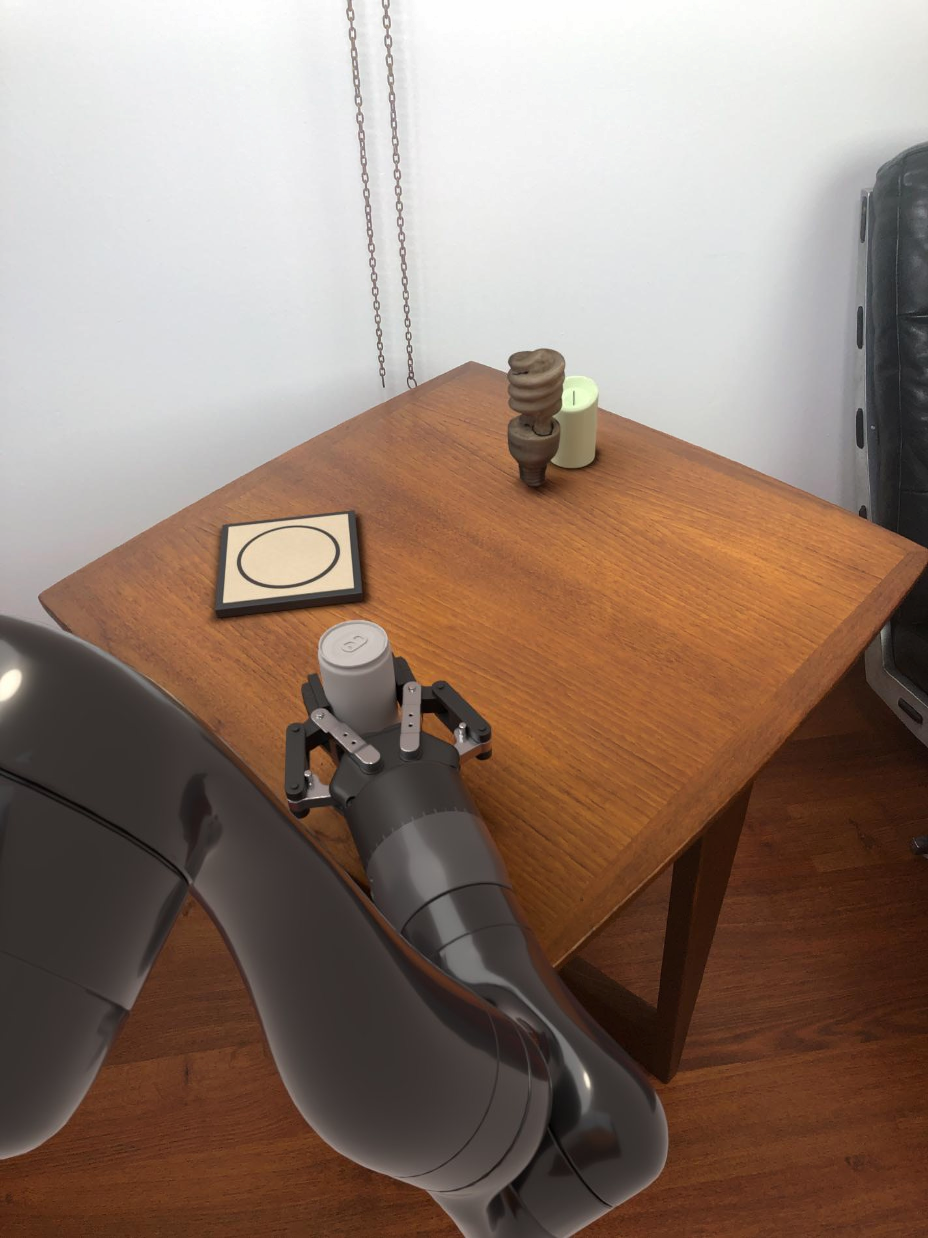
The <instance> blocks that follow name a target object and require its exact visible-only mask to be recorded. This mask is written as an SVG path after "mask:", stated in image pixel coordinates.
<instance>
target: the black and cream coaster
mask: <svg viewBox="0 0 928 1238" xmlns="http://www.w3.org/2000/svg"><path fill="white" fill-rule="evenodd" d="M219 546H220V547H219V557H218V558H219V559H218V569H217V571H218V572H217V579H216V580H217V581H216V592H215V593H216V594H215V604H214V605H215V607H214V611H215V616H216V618H217V619H221V618H227V617H228V618H229V617H236V616H246V615H255V614H256V615H257V614H263V613H273V612H279V611H280V612H281V611H289V610H290V611H291V610H297V609H306V608H314V607H323V606H331V605H340V604H341V605H342V604H349V603H357V602H364V592H363V590H364V589H363V581H362V580H363V579H362V570H361V569H362V568H361V559H360V551H359V539H358V527H357V517H356V511H355V510H354V509H353V510H343V511H335V512H325V513H316V514H307V515H306V514H305V515H299V516H289V517H280V518H270V519H263V520H254V521H253V520H252V521H244V522H235V523H226V524H222V525H221V535H220V545H219Z"/></svg>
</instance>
